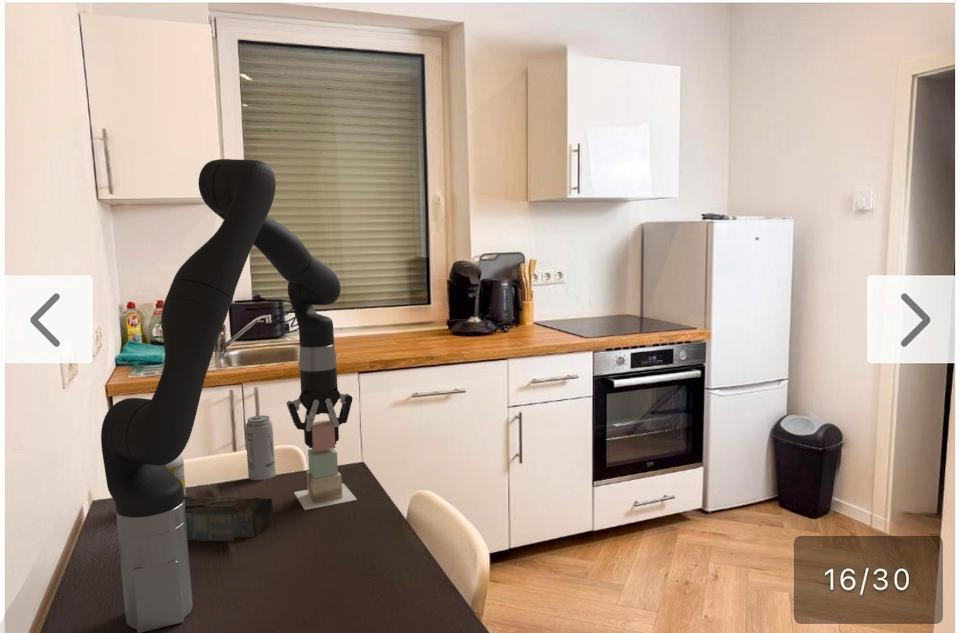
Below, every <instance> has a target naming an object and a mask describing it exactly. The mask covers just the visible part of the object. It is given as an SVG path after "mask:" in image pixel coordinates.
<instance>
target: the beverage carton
mask: <svg viewBox="0 0 960 633" xmlns="http://www.w3.org/2000/svg"><path fill="white" fill-rule="evenodd" d="M184 501H185V514H186V528H187V541H199V542H201V541H202V542H203V541H204V542H206V541H208V542H236V541H235V537H236V538H257V537H258V536H259V535H261V534H262V533H263V532H264V531H265V530H267V529H268V528H269V527H270V526H271V525H272V524H273V523H274V511H273V509H274V508H273V499H272V498H267V497H265V498H263V497H261V498H260V497H253V498H252V497H210V496H209V497H207V496H205V497H200V496H198V497H197V496H186V497H184Z"/></svg>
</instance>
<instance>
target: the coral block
mask: <svg viewBox="0 0 960 633" xmlns="http://www.w3.org/2000/svg"><path fill="white" fill-rule="evenodd" d="M311 431H312V444H313V448H311V449H312V450H313V451H320V450H326V449H332V448H334V449H336V444H335V430H334V424H333V423H332V422H331V421H330V419H326V420H325V419H324V420H321V421H320V420H319V421H313V425H312V429H311Z"/></svg>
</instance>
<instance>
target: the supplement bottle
mask: <svg viewBox="0 0 960 633" xmlns="http://www.w3.org/2000/svg"><path fill="white" fill-rule="evenodd" d="M184 462H185V461H184V457H183V456H182V455H181V454H180V455H179V456H178V458H176V459H175V460H174V461H172V462H171V463H169V464H166V465H165V466H166V467H167V469H168V470H169V471H170V472H171V473H172V474H173V475H174V476H176V477H177V478H178V479H179V480H180V481H181V482H182V484H183V489H184V497H187V492H186V479H185V478H186V477H185V467H184V466H185V464H184Z"/></svg>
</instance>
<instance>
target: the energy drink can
mask: <svg viewBox="0 0 960 633" xmlns="http://www.w3.org/2000/svg"><path fill="white" fill-rule="evenodd" d="M245 442H246V459H247V472H248V473H247V474H248V480H251V481H266V480H268V479H271V478H274V477H276V464H275V463H276V462H275V461H276V460H275V448H274V447H275V446H274V430H273V423H272V421H271V420H270V416H268V415H255V416H251V417H248V418H247V422H246V424H245Z"/></svg>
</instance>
